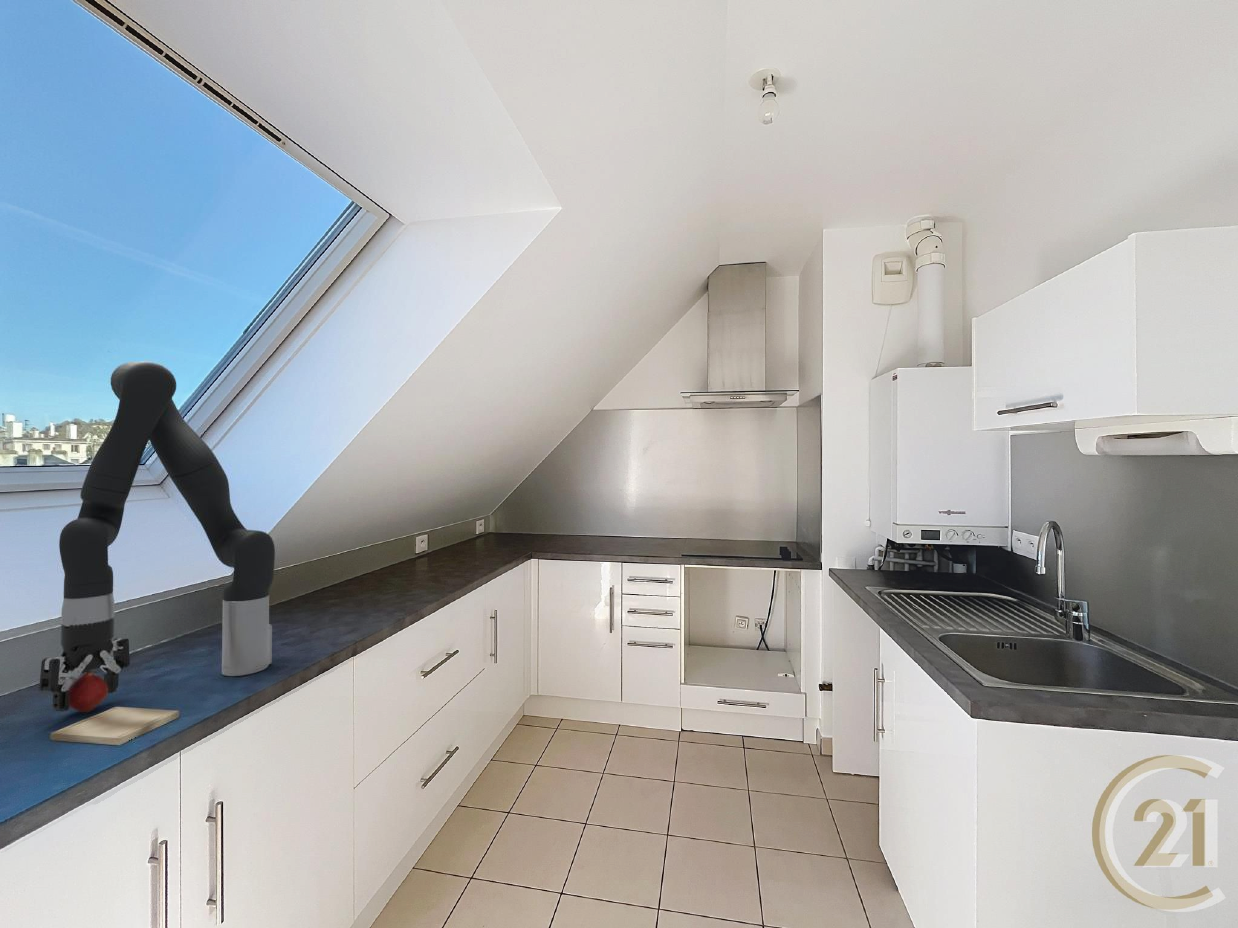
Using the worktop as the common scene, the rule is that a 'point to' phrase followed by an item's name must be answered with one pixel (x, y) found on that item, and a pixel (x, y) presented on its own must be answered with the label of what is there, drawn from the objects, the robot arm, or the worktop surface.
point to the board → (115, 725)
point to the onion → (87, 692)
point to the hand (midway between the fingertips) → (86, 701)
